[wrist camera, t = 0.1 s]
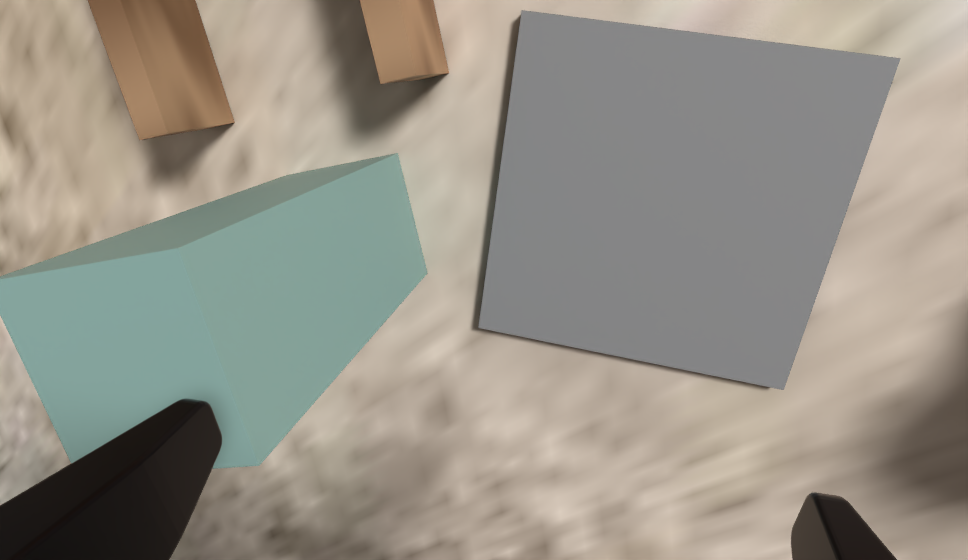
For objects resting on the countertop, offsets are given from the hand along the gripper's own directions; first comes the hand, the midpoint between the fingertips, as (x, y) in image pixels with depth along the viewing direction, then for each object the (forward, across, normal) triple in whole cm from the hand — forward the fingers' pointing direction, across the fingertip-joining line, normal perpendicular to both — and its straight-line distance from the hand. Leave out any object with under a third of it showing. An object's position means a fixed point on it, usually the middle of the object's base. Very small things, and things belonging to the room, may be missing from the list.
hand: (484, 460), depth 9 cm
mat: (+15, -4, +3) cm, 16 cm away
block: (+15, +8, +5) cm, 18 cm away
